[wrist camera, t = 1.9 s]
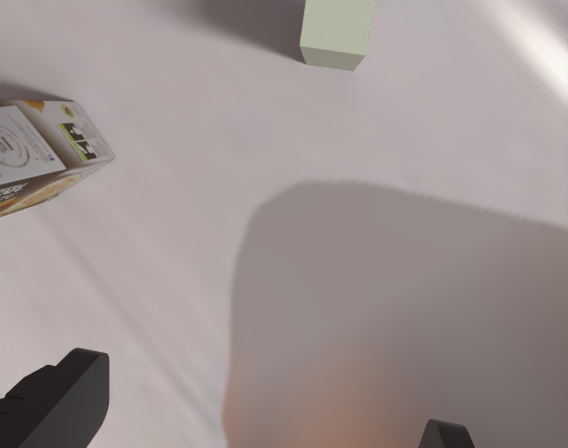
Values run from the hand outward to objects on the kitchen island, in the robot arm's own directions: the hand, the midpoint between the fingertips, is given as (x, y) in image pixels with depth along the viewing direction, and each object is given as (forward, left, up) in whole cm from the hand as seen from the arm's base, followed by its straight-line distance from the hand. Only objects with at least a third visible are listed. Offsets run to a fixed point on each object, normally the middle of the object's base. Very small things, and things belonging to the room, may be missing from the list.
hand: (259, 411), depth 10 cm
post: (0, -13, -28) cm, 30 cm away
